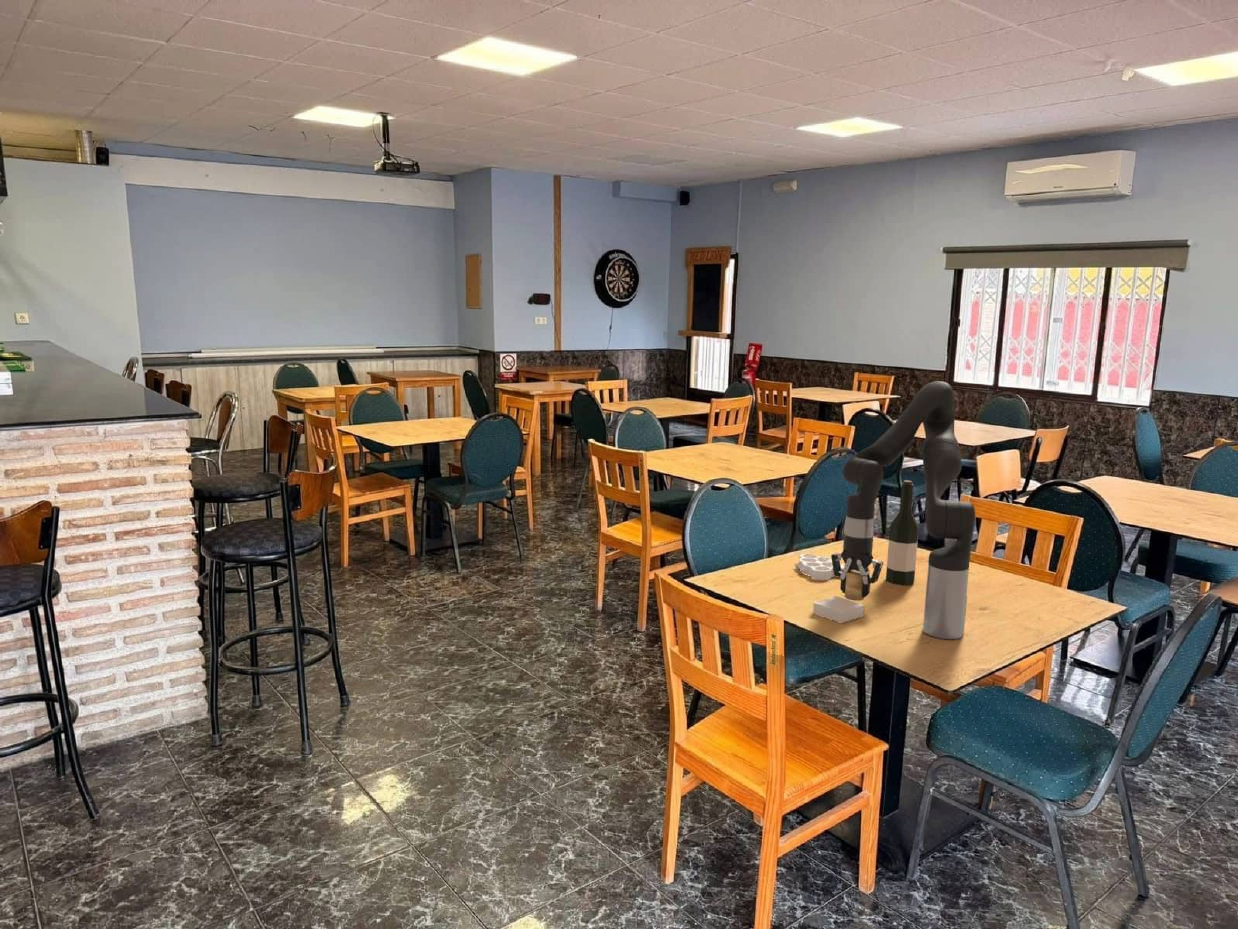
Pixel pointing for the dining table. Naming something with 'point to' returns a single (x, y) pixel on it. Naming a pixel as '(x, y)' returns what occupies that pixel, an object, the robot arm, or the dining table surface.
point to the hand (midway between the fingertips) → (854, 594)
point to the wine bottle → (903, 541)
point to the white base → (838, 609)
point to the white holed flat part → (816, 566)
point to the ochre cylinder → (854, 585)
